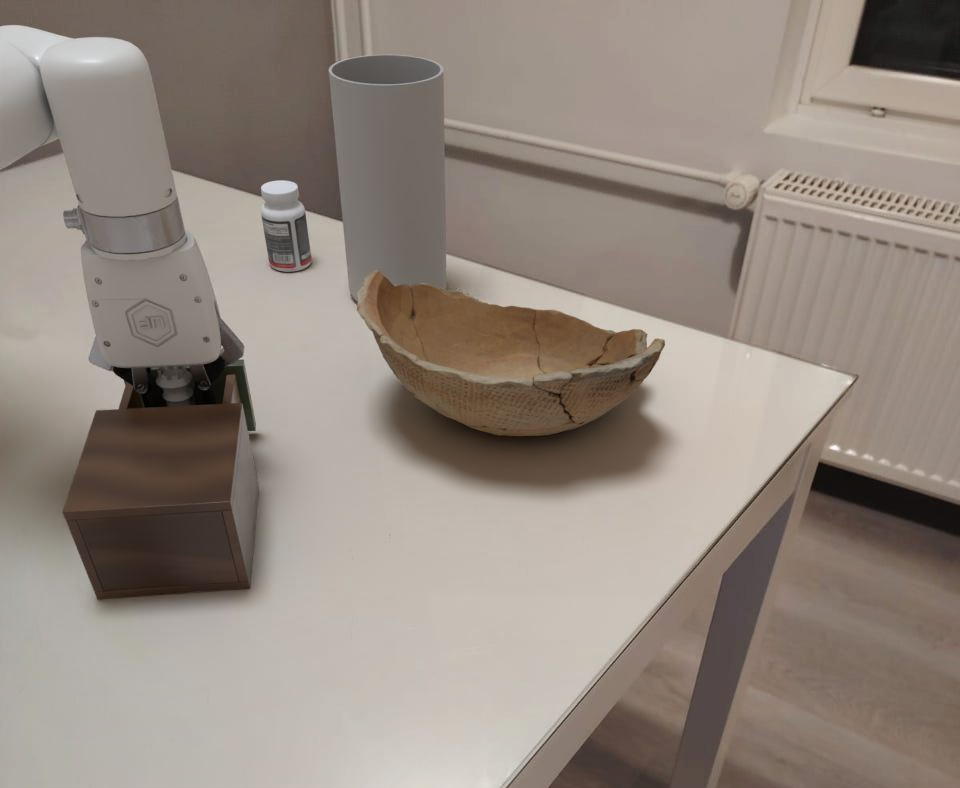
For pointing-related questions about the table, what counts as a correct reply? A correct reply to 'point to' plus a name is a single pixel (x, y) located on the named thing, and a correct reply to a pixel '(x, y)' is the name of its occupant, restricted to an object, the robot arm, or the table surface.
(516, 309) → the ceramic bowl
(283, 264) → the pill bottle
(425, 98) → the cylinder vase
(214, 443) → the cabinet
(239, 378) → the drawer
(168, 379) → the rook chess piece
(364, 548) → the table surface
